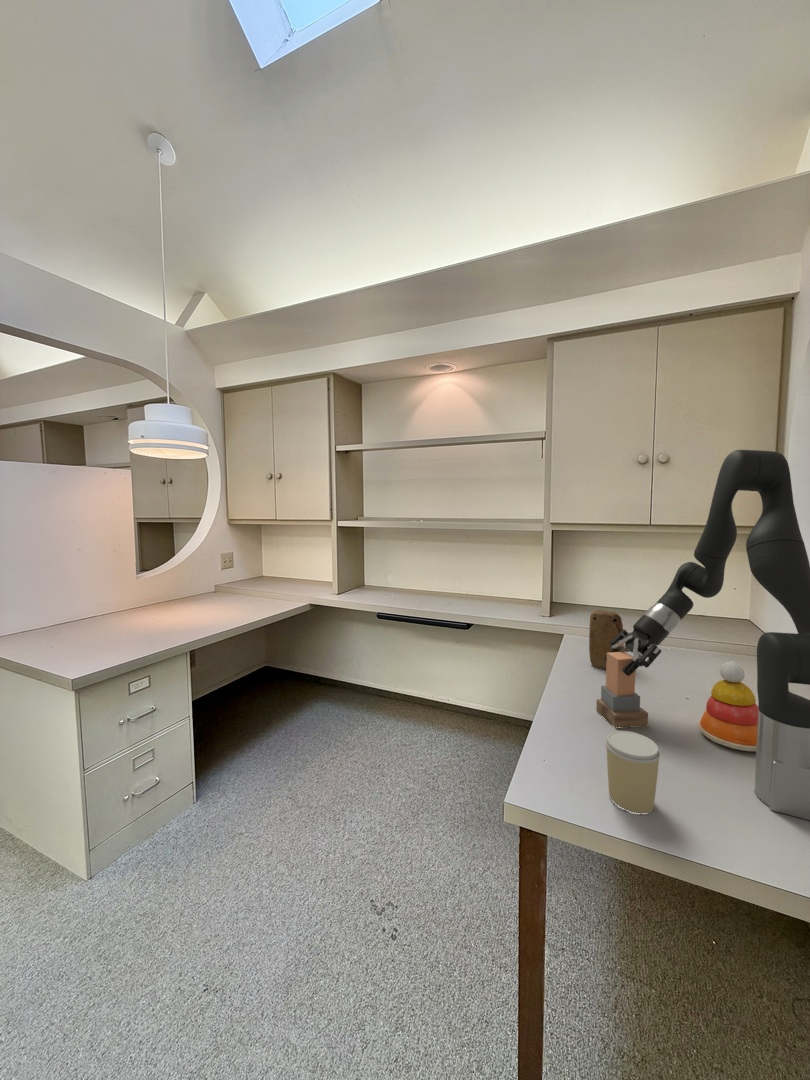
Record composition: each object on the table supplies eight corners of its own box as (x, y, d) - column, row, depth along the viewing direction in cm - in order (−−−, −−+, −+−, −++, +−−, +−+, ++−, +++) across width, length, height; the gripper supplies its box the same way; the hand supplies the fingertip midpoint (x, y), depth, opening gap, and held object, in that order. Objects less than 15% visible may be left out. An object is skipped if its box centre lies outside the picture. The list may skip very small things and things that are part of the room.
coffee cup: (639, 784, 87) (641, 729, 86) (669, 817, 77) (671, 756, 76) (595, 786, 86) (596, 730, 85) (620, 819, 77) (622, 758, 76)
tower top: (639, 711, 110) (640, 696, 109) (613, 711, 110) (613, 697, 109) (626, 698, 117) (626, 685, 116) (601, 699, 117) (601, 685, 116)
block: (587, 666, 149) (587, 612, 148) (593, 660, 155) (594, 607, 153) (620, 673, 142) (621, 616, 141) (625, 666, 148) (626, 612, 147)
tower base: (647, 727, 109) (648, 713, 109) (614, 729, 108) (615, 715, 108) (626, 711, 118) (627, 697, 118) (596, 712, 117) (596, 699, 117)
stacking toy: (763, 732, 105) (767, 657, 103) (778, 763, 92) (782, 678, 91) (695, 719, 112) (697, 648, 110) (700, 745, 100) (703, 667, 98)
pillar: (634, 694, 111) (635, 658, 110) (616, 696, 110) (618, 659, 109) (622, 686, 115) (623, 651, 115) (605, 687, 115) (606, 652, 114)
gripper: (631, 608, 118) (592, 649, 118) (666, 621, 104) (622, 668, 104) (648, 625, 119) (609, 666, 119) (685, 641, 105) (641, 687, 105)
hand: (615, 667), depth 112 cm, fingers open, 8 cm apart
